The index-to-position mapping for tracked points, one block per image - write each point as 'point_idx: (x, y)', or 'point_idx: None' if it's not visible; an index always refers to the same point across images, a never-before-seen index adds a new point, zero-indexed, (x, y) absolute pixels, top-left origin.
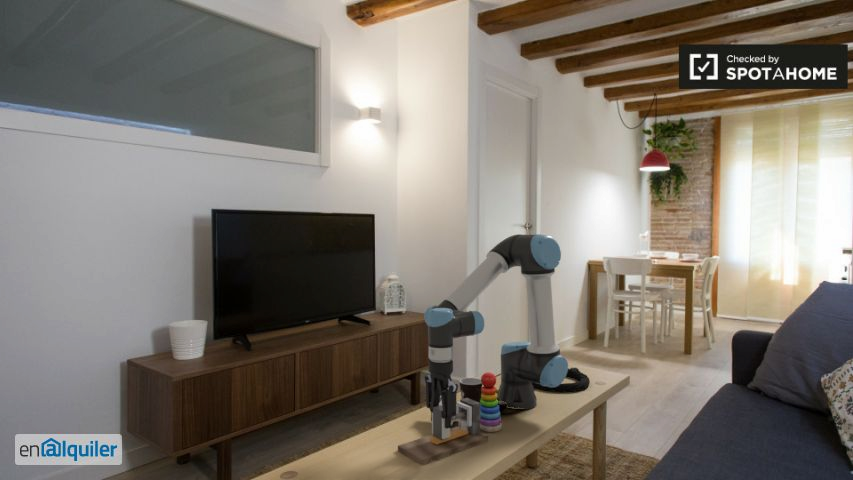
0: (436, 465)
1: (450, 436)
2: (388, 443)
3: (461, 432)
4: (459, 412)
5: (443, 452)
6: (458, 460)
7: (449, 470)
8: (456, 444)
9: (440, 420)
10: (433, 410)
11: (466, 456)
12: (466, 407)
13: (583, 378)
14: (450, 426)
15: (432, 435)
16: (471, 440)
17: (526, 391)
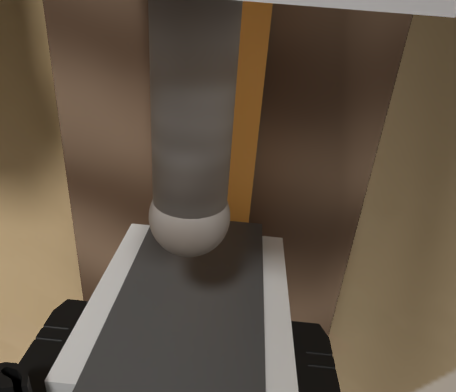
0: (358, 361)
1: (250, 197)
2: (6, 355)
3: (259, 61)
4: (168, 65)
5: (333, 313)
6: (424, 265)
7: (446, 358)
8: (322, 186)
9: None
10: None
11: (438, 198)
12: (330, 7)
13: None
14: (325, 338)
15: (83, 199)
16: (375, 37)
17: None
